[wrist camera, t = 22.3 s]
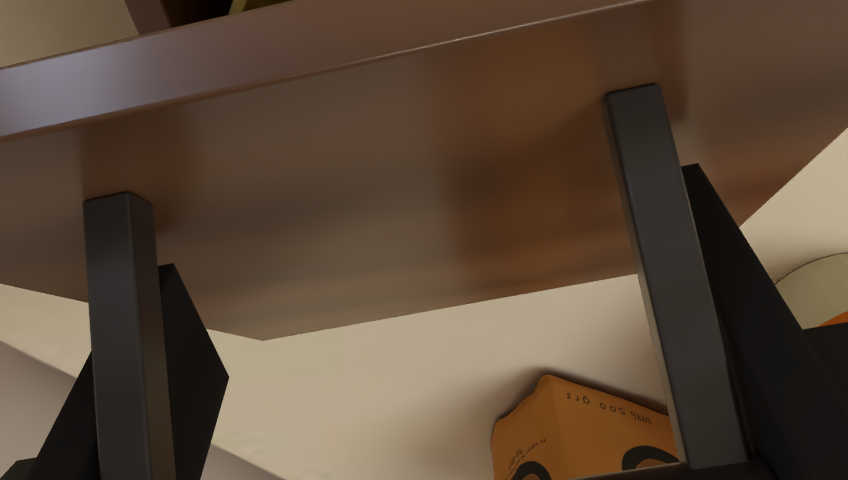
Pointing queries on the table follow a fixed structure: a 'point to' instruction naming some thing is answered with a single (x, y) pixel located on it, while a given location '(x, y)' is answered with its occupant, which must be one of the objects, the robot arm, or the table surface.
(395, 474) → the table surface
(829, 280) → the reusable coffee cup
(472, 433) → the table surface
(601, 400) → the coffee package
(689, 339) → the lid
